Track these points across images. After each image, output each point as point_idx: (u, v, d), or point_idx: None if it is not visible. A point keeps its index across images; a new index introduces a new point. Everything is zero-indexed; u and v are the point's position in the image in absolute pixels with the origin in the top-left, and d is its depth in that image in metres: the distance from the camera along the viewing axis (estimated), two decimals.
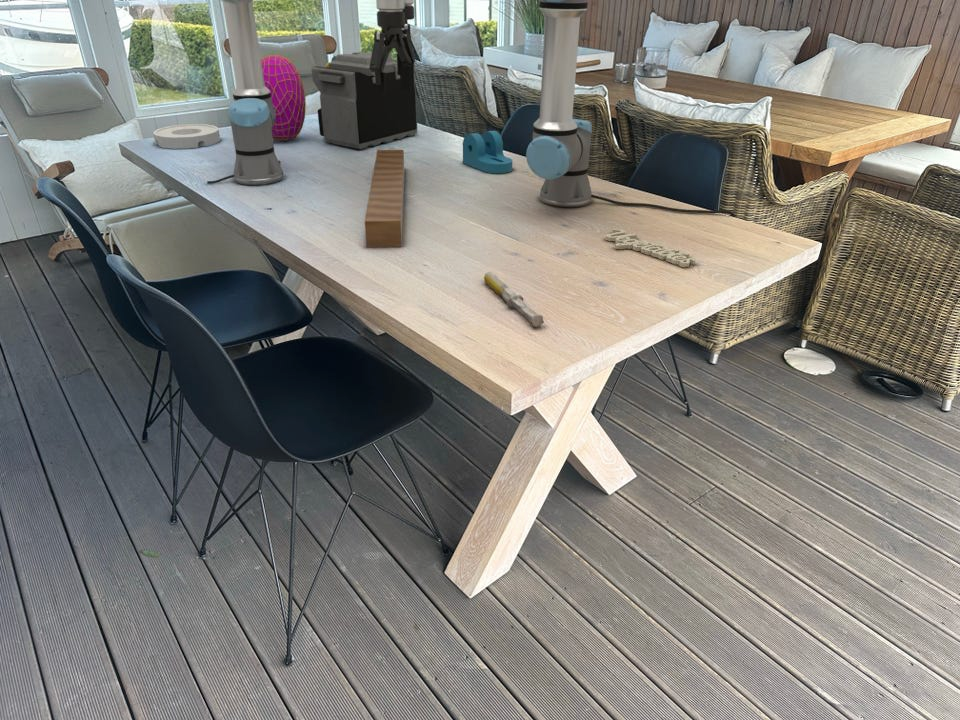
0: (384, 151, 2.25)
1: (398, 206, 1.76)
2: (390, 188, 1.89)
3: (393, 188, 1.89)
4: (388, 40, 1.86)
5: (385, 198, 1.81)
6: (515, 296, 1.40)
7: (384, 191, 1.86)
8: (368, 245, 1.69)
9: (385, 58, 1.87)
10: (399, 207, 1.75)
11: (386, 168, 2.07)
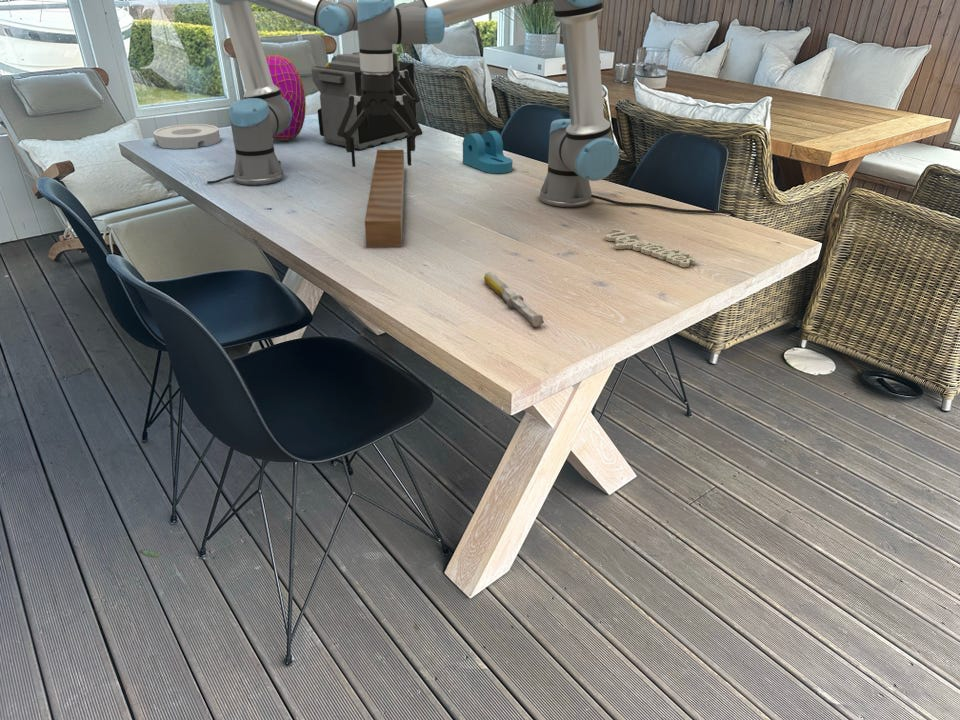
0: (384, 151, 2.25)
1: (398, 206, 1.76)
2: (390, 188, 1.89)
3: (393, 188, 1.89)
4: (365, 105, 1.61)
5: (385, 198, 1.81)
6: (515, 296, 1.40)
7: (384, 191, 1.86)
8: (368, 245, 1.69)
9: (355, 124, 1.63)
10: (399, 207, 1.75)
11: (386, 168, 2.07)
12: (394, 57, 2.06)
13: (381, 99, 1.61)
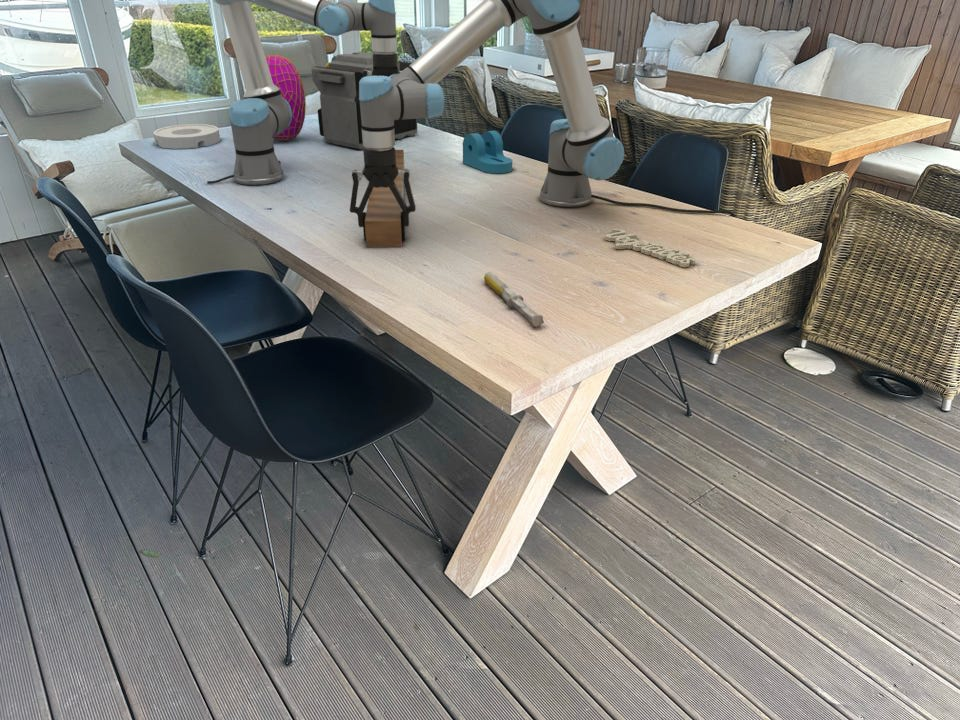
0: None
1: (398, 206, 1.76)
2: None
3: None
4: (367, 178, 1.64)
5: (385, 198, 1.81)
6: (515, 296, 1.40)
7: (384, 191, 1.86)
8: (368, 245, 1.69)
9: (364, 200, 1.66)
10: (399, 207, 1.75)
11: None
12: (394, 57, 2.06)
13: (383, 170, 1.63)
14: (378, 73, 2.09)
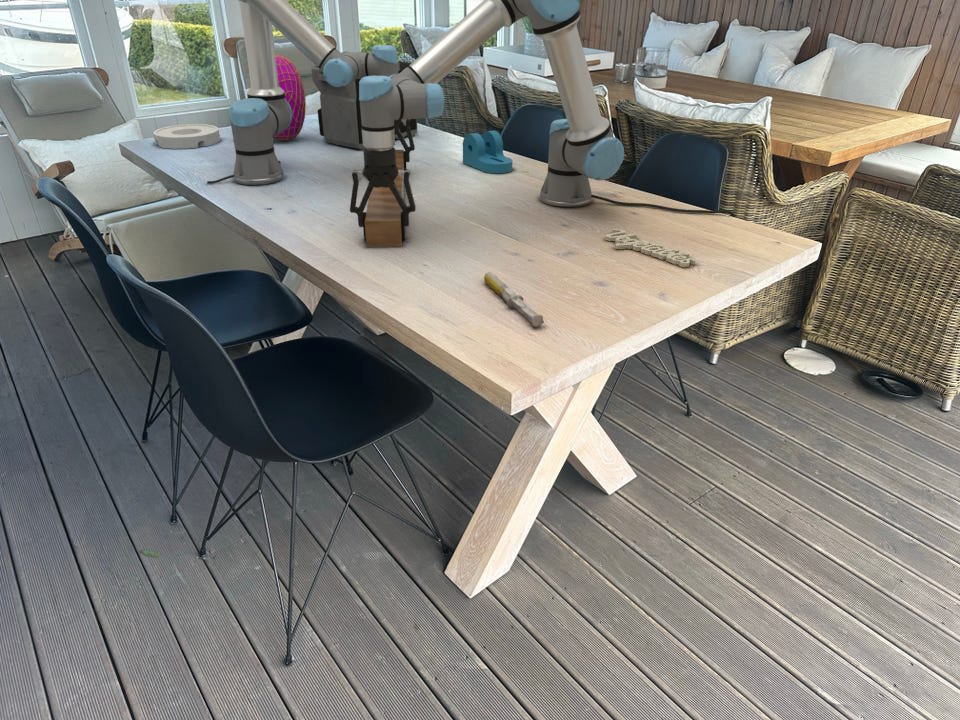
0: None
1: (398, 206, 1.76)
2: None
3: None
4: (367, 178, 1.64)
5: (385, 198, 1.81)
6: (515, 296, 1.40)
7: (384, 191, 1.86)
8: (368, 245, 1.69)
9: (364, 200, 1.66)
10: (399, 207, 1.75)
11: None
12: None
13: (383, 170, 1.63)
14: None
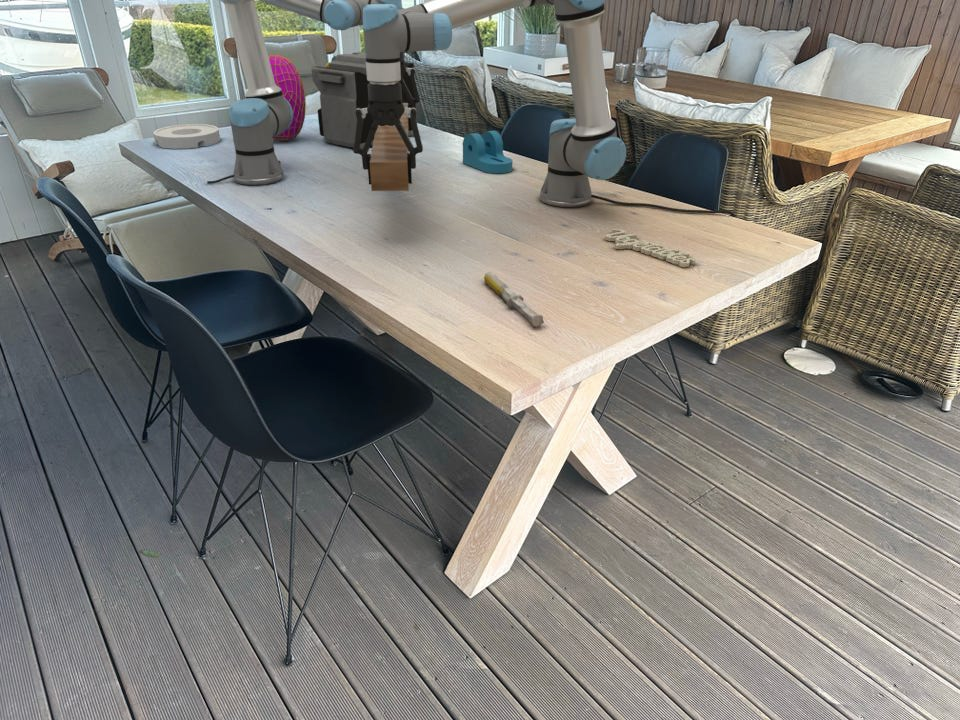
0: None
1: (404, 150, 1.67)
2: (395, 134, 1.81)
3: (398, 135, 1.81)
4: (372, 115, 1.56)
5: (390, 143, 1.73)
6: (515, 296, 1.40)
7: (389, 137, 1.78)
8: (373, 188, 1.61)
9: (368, 139, 1.58)
10: (405, 150, 1.67)
11: None
12: (401, 52, 2.05)
13: (389, 107, 1.55)
14: None
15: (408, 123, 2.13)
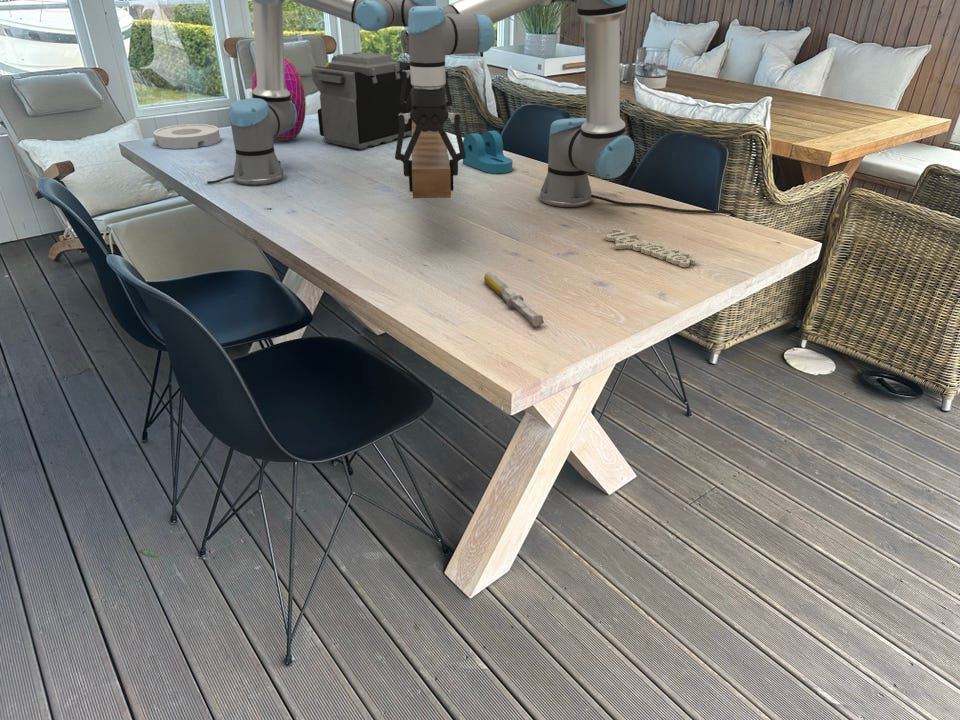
0: None
1: (445, 155, 1.63)
2: (432, 139, 1.76)
3: (436, 140, 1.76)
4: (415, 121, 1.51)
5: (429, 149, 1.68)
6: (515, 296, 1.40)
7: (427, 142, 1.73)
8: (415, 196, 1.56)
9: (411, 145, 1.53)
10: (446, 156, 1.62)
11: None
12: None
13: (432, 112, 1.50)
14: None
15: None
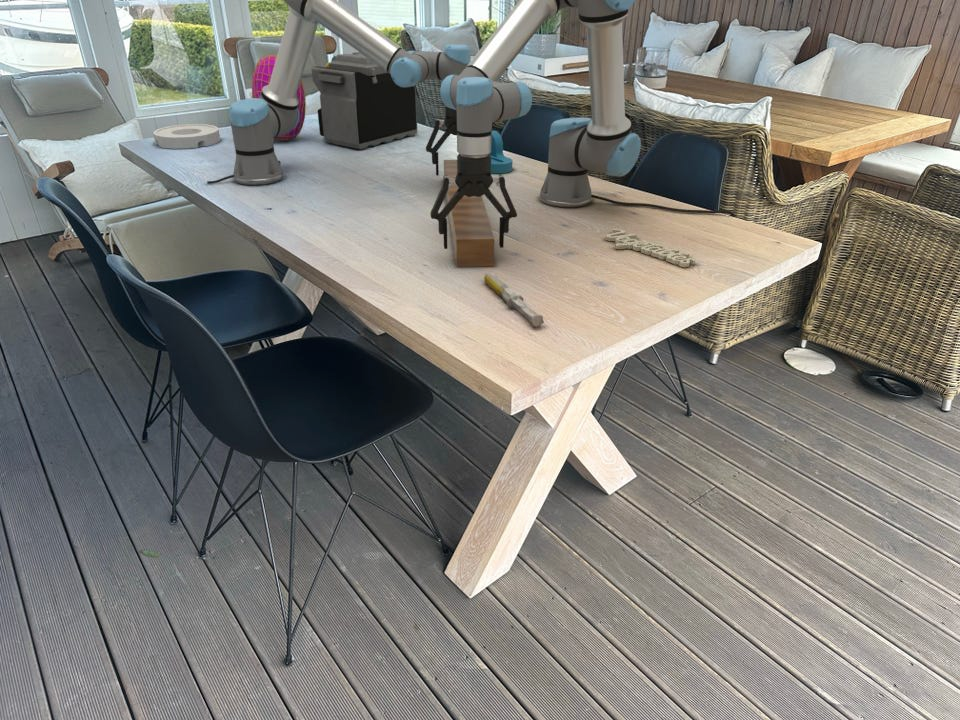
0: (451, 161, 2.14)
1: (486, 222, 1.65)
2: (471, 202, 1.79)
3: (474, 202, 1.79)
4: (460, 187, 1.53)
5: (469, 214, 1.71)
6: (515, 296, 1.40)
7: (466, 206, 1.76)
8: (458, 264, 1.59)
9: (449, 206, 1.55)
10: (488, 223, 1.65)
11: None
12: None
13: (477, 180, 1.52)
14: (450, 122, 2.05)
15: None
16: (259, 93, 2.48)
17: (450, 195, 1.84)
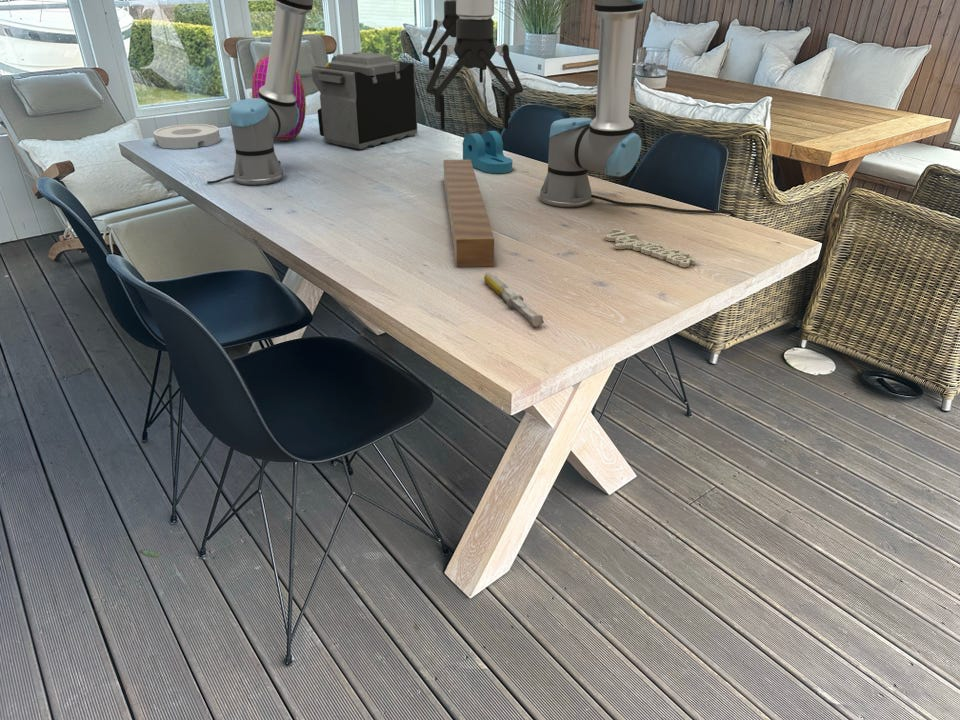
0: (451, 161, 2.14)
1: (486, 222, 1.65)
2: (471, 202, 1.79)
3: (474, 202, 1.79)
4: (459, 56, 1.39)
5: (469, 214, 1.71)
6: (515, 296, 1.40)
7: (466, 206, 1.76)
8: (458, 264, 1.59)
9: (447, 79, 1.41)
10: (488, 223, 1.65)
11: (460, 180, 1.97)
12: None
13: (478, 49, 1.39)
14: (449, 23, 1.91)
15: None
16: None
17: (450, 195, 1.84)
